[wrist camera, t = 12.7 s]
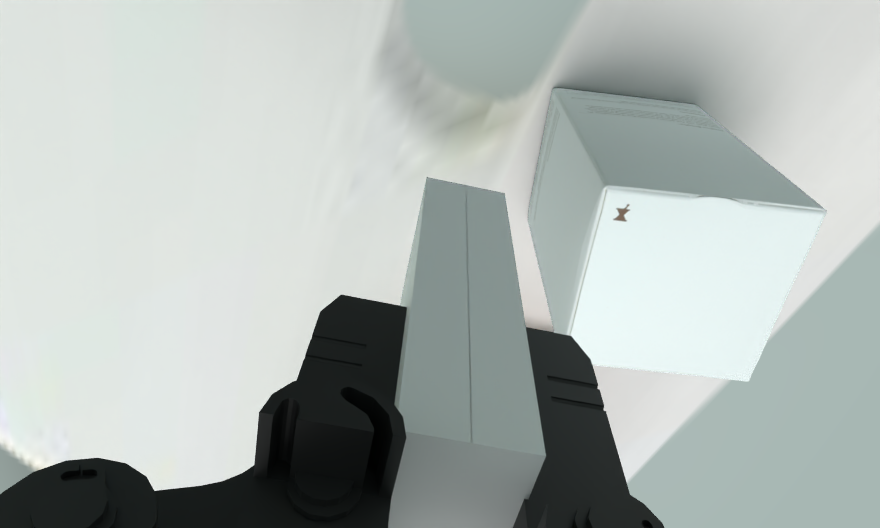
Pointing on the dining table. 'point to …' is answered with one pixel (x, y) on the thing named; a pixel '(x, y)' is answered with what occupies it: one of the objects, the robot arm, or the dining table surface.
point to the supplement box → (663, 235)
